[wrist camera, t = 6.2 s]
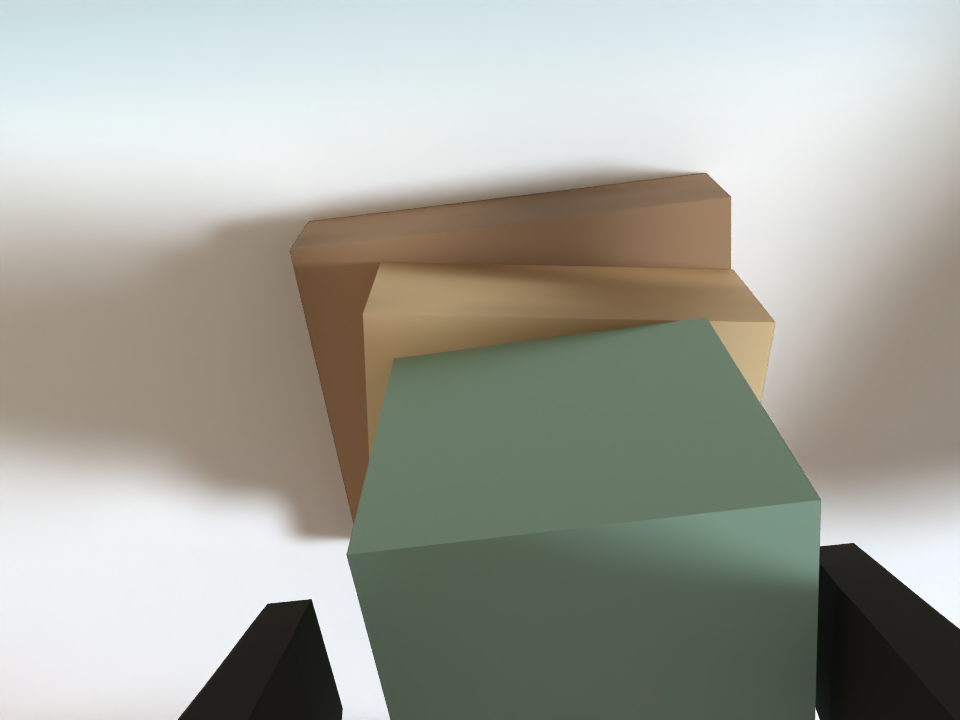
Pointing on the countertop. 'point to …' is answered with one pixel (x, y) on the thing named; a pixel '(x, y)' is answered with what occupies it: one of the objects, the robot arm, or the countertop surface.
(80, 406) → the countertop surface
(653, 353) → the green cube
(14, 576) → the countertop surface
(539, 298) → the oak slab
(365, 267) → the walnut slab
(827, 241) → the countertop surface
